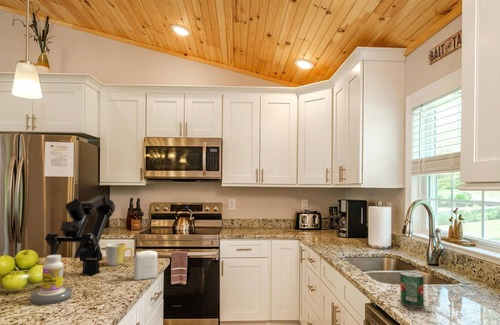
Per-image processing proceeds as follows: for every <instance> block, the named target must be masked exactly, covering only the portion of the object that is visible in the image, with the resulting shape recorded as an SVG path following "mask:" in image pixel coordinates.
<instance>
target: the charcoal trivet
mask: <svg viewBox="0 0 500 325" xmlns="http://www.w3.org/2000/svg"><path fill="white" fill-rule="evenodd" d="M41 290H42V288H40V289H37V290H35V291H33V292H31V293H30V297H29V298H30V299H29V301H30V302H29V303H30V304H31V305H34V306H36V305H37V306H48V305H49V306H50V305H56V304H59V303H64V302H65V301H68V300H70V299H71V298H72V287H70V286H63V285H62V289H61V290H60V291H59V292H56V293H43V292H42V291H41Z"/></svg>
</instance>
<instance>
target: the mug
mask: <svg viewBox="0 0 500 325" xmlns="http://www.w3.org/2000/svg"><path fill="white" fill-rule="evenodd" d="M126 250H130V251H131V252H130V253H131V254H130V257H127V258H125V254H126ZM133 254H134V249H133V247H130V246H129V247H127V243H124V242H113V243H107V244H105V255H106V263H107V264H108V265H109V266H111V267H113V266H114V267H116V266H120V265H122V264H123V262H124V261H129V260H132V259H133Z"/></svg>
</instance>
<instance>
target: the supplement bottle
mask: <svg viewBox="0 0 500 325" xmlns="http://www.w3.org/2000/svg"><path fill="white" fill-rule="evenodd" d="M61 260H62V255H61V254H55V255H51V254H49V255H47V256H46V262H45V263H44V264H43V265H42V273H41V274H42V275H41V276H42V277H41V289H42V290H41V291H42V292H43V293H56V292H59V291H60V290H61V289H62V286H63V280H64V278H63V277H64V263H63V262H62V261H61Z"/></svg>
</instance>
